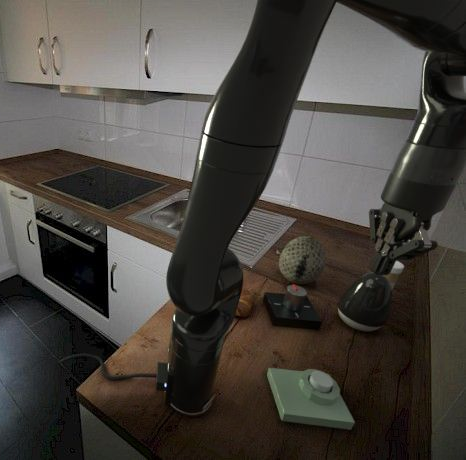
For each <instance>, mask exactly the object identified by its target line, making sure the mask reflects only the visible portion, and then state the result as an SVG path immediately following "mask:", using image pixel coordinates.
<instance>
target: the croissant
mask: <svg viewBox="0 0 466 460" xmlns="http://www.w3.org/2000/svg"><path fill="white" fill-rule="evenodd" d="M255 305H256V299H255V298H254V297H253V295H252V294H251V292H250V291H249V289H247V288H245V287H242V292H241V296H240V300H239V303H238V307H237V310H236V314H235V317H240V318H247V317H249V316H250V315H251V314H252V311H253V310H252V307H255Z"/></svg>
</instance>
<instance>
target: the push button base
mask: <svg viewBox="0 0 466 460" xmlns="http://www.w3.org/2000/svg"><path fill="white" fill-rule="evenodd" d="M314 371H321V370H319V369H314V368H307V369H305V370H303V371H302V370H292V369H286V368H285V369H284V368H275V367H268V369H267V371H266V376H267V380H268V383H269V387H270V389H271V392H272V395H273V399H274V401H275V406H276V408H277V411H278V414H279V418H280V420H281V421H282V422H287V423H288V422H289V423H294V424H295V423H296V424H304V425H312V426H318V427H325V428H326V427H327V428H328V427H329V428H333V429H342V430H348V431H349V430H350V431H351V430H352V429H353V427H354V425H355V424H356V422H355V420H354V418H353V415H352V414H351V412H350V409H349V408H348V406H347V405H346V402H345V401H344V398H343V397H342V395H341V393H340V392H341V388H340V386H339V385H338V383H337V381H336V380H335V379H334V378H333V377H332V376H331V374H329V373H326V374H327V375H328V376H330V378H331V379H332V381H333V385H332V387H331V389H330V391H329V392H328V393H321V392H319V391H317V390H315V389H314V388H313V387H312V386H311V385H310V383H309V379H310V376H311V374H312V372H314ZM321 372H323V371H321Z"/></svg>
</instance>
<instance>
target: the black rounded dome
mask: <svg viewBox="0 0 466 460" xmlns="http://www.w3.org/2000/svg"><path fill="white" fill-rule="evenodd" d="M392 300H393V289H391V285H390V282H389V280H388V279H387V278H386V277H385V276H384V275H376V274H375V273H374V272H373V271H371V272H370V271H369V272H366V273H363V274H362V275H360V276H359V277H358V278H356V279H355V280H354V281H353V282H352V283H351V284H350V285H349V286H348V287H347V288H346V289H345V290H344V292H343V293H342V295H341V296H340V297H339V300H338V301H337V310H338V315H339V317H340V319H341V320H342V322H344V323H345V324H346V325H347V326H348V327H350V328H352V329H355V330H357V331H361V332H374V331H377V330H378V329H379V330H380V328H382V327H383V326H385V325H386V324H387V323H388V320H389V317H390V314H391V309H392Z"/></svg>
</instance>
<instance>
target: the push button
mask: <svg viewBox="0 0 466 460" xmlns="http://www.w3.org/2000/svg"><path fill="white" fill-rule="evenodd" d="M327 374H328V373H326V372H324V371H322V372H321V370H319V371H314V372H312V374H311V376H310V379H309V383H310V385H311V386H312V387H313V388H314V389H315V390H317V391H319V392H321V393H328V392H329V391H330V389H331V387H332V385H333V381H332V379H333V378H332V377H331V378H332V379H331V378H330V376H331V375H330V376H328V375H327Z"/></svg>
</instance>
